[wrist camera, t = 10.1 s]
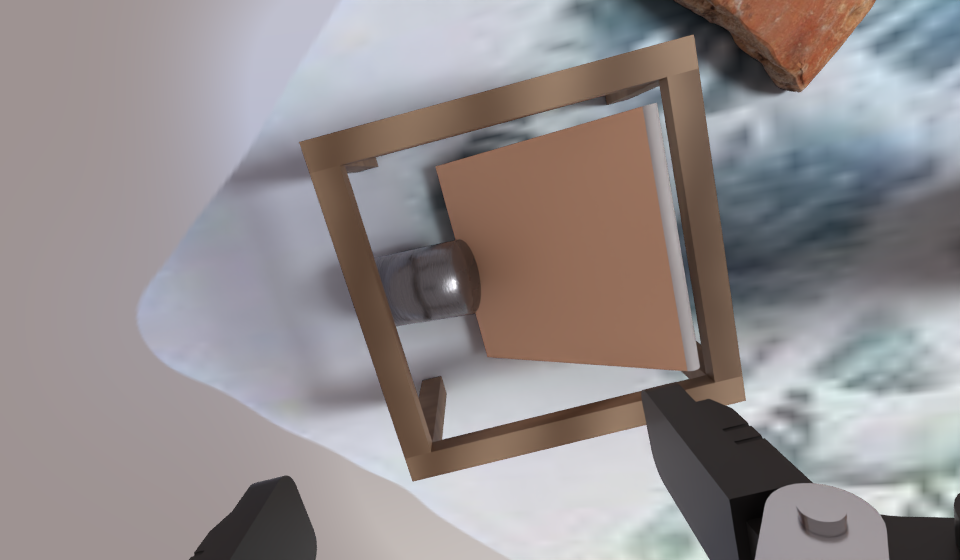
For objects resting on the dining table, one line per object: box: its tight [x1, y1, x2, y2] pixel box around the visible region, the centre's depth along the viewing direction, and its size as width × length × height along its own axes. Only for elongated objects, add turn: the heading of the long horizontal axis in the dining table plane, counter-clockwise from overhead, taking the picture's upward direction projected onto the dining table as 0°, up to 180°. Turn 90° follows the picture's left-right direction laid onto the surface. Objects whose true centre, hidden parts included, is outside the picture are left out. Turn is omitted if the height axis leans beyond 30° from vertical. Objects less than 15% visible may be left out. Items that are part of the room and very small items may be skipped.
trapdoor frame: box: [299, 35, 746, 481], centre depth 29 cm, size 19×19×10 cm
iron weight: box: [375, 239, 481, 326], centre depth 31 cm, size 5×5×6 cm
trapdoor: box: [436, 103, 700, 371], centre depth 29 cm, size 14×14×1 cm
